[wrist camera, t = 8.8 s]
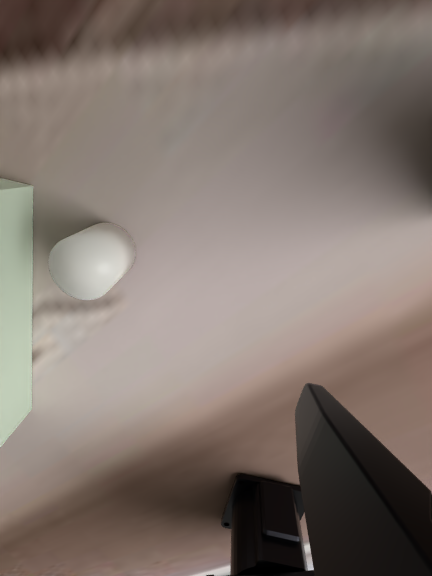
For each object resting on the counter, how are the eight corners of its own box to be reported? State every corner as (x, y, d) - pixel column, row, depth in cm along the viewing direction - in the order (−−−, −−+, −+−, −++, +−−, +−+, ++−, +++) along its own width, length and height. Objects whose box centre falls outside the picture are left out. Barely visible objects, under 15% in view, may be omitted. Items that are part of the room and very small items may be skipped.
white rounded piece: (132, 281, 22) (110, 306, 18) (80, 269, 22) (47, 291, 18) (139, 229, 21) (117, 245, 17) (83, 216, 21) (49, 229, 17)
